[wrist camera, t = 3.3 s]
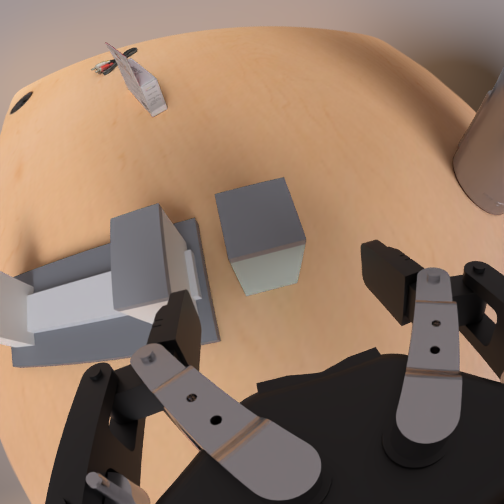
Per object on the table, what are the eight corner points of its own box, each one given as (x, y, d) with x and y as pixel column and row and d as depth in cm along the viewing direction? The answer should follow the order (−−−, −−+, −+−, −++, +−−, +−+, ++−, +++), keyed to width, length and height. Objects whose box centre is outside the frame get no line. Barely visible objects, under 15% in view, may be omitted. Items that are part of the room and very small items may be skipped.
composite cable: (135, 49, 42) (131, 40, 39) (144, 53, 40) (140, 43, 38) (93, 76, 40) (88, 67, 38) (99, 81, 38) (94, 71, 36)
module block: (297, 282, 21) (306, 239, 14) (246, 296, 21) (228, 259, 14) (283, 236, 23) (283, 177, 16) (235, 249, 23) (214, 194, 16)
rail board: (198, 224, 24) (171, 174, 17) (220, 341, 20) (193, 330, 14) (18, 280, 24) (-25, 258, 17) (20, 367, 20) (-30, 358, 13)
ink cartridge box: (141, 82, 35) (120, 33, 26) (169, 109, 31) (145, 46, 22) (127, 90, 35) (104, 41, 26) (152, 119, 31) (124, 57, 22)
